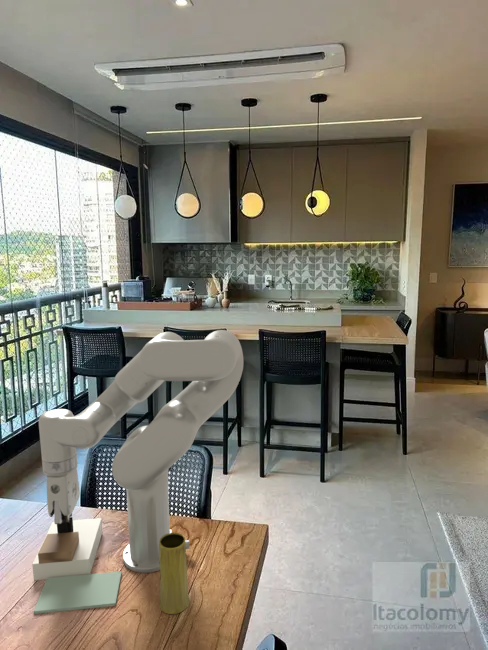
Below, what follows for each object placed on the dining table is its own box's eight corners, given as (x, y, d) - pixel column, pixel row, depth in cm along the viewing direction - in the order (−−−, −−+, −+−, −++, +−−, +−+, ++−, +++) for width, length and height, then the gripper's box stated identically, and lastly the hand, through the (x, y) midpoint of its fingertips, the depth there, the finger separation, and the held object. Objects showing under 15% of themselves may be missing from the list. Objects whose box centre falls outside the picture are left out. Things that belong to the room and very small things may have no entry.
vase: (164, 591, 98) (162, 530, 96) (192, 593, 98) (191, 532, 95) (155, 613, 92) (152, 548, 90) (185, 616, 92) (183, 551, 89)
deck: (102, 532, 119) (101, 518, 118) (89, 575, 103) (88, 559, 103) (53, 536, 117) (52, 521, 117) (33, 580, 102) (32, 564, 101)
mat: (121, 573, 104) (121, 571, 104) (115, 605, 94) (115, 603, 94) (47, 580, 102) (47, 578, 102) (33, 614, 92) (33, 611, 92)
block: (79, 541, 109) (78, 531, 108) (71, 560, 102) (71, 550, 102) (48, 543, 108) (47, 534, 108) (38, 563, 101) (38, 553, 101)
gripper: (68, 477, 100) (74, 553, 103) (84, 448, 115) (88, 515, 118) (32, 479, 99) (39, 556, 102) (52, 450, 114) (58, 518, 117)
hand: (65, 534), depth 110 cm, fingers closed
